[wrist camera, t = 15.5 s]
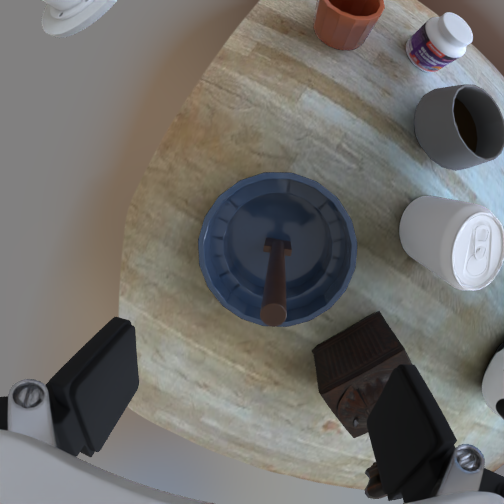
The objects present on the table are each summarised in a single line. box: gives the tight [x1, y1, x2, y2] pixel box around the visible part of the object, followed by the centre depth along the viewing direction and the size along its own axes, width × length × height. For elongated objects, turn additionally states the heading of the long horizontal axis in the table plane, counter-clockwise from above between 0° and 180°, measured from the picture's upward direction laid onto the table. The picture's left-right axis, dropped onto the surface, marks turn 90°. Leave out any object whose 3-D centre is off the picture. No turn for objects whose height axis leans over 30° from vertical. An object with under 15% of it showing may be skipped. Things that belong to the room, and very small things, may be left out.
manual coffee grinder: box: [312, 311, 412, 499], centre depth 27 cm, size 16×11×18 cm
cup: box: [414, 85, 504, 170], centre depth 23 cm, size 10×9×10 cm
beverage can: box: [399, 196, 504, 291], centre depth 25 cm, size 8×8×12 cm
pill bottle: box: [406, 12, 473, 73], centre depth 20 cm, size 5×5×10 cm
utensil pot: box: [313, 0, 385, 50], centre depth 22 cm, size 7×7×8 cm
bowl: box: [198, 172, 357, 327], centre depth 30 cm, size 15×15×6 cm
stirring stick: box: [260, 237, 292, 327], centre depth 24 cm, size 3×1×18 cm, turn 81°
